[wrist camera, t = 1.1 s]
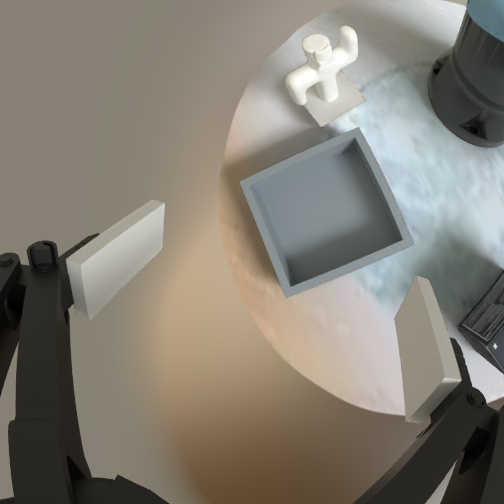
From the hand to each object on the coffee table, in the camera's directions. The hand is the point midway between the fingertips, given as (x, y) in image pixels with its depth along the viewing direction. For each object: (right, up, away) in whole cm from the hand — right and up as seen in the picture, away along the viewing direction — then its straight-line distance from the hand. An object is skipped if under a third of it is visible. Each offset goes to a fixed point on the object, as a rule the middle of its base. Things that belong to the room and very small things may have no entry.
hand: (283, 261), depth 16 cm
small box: (+31, -8, +18) cm, 36 cm away
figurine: (+9, +21, +25) cm, 34 cm away
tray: (+8, +5, +25) cm, 27 cm away
